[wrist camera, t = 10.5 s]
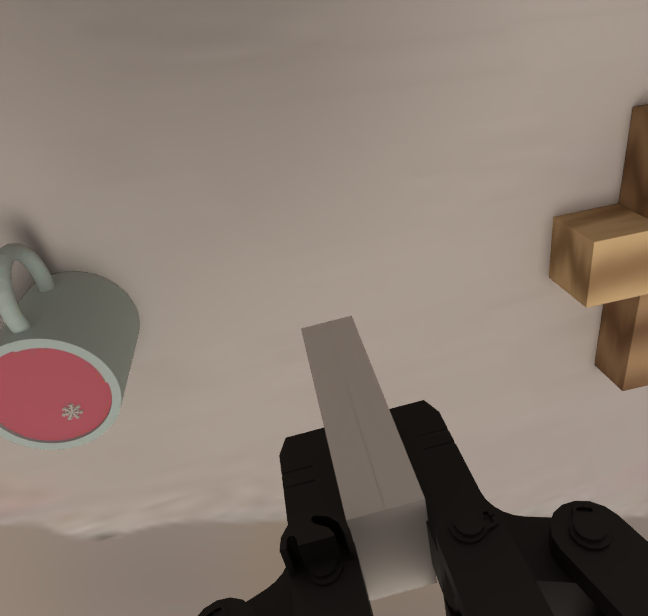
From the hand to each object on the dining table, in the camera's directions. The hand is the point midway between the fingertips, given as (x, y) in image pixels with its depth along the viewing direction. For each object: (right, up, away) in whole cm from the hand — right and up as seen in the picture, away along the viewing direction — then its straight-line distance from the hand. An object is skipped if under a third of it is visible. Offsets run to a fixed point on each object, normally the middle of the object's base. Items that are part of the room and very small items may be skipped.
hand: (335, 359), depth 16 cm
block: (+23, +8, +33) cm, 41 cm away
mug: (-21, +2, +27) cm, 34 cm away
